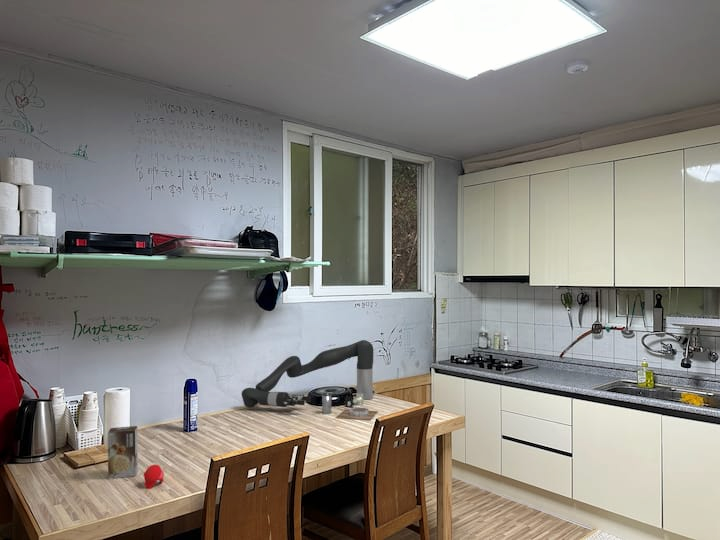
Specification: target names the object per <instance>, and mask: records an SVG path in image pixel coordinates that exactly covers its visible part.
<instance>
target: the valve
mask: <svg viewBox="0 0 720 540" xmlns="http://www.w3.org/2000/svg"><path fill="white" fill-rule="evenodd" d="M344 400H345V401H343V405H344V407H345V408H349V409H351V408H354V405H357V406H363V405H364V399H363V393H357V392H356V396H355V398H351V397H350V396H348V397H345V398H344Z"/></svg>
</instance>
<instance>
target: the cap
mask: <svg viewBox="0 0 720 540" xmlns="http://www.w3.org/2000/svg"><path fill="white" fill-rule="evenodd" d="M164 475H165V473H164V470H163V469H162V468H161V467H160V465H159V464H152V465H149V466H148V467H147V468H146V470H145V472H143V478H144V486H145V489H147V490H150V489H152V488H153V487H154V486H155V485H156V483H157V481H158V482H159V484H163V482H164Z"/></svg>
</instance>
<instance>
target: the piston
mask: <svg viewBox="0 0 720 540" xmlns="http://www.w3.org/2000/svg"><path fill="white" fill-rule="evenodd" d="M321 397H322V398H321V403H322V404H321V409H322V411H321V413H322V414H323V415H330V414H332V393H331V392H330V391H329V392H328V391H325V392H322V395H321Z"/></svg>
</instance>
